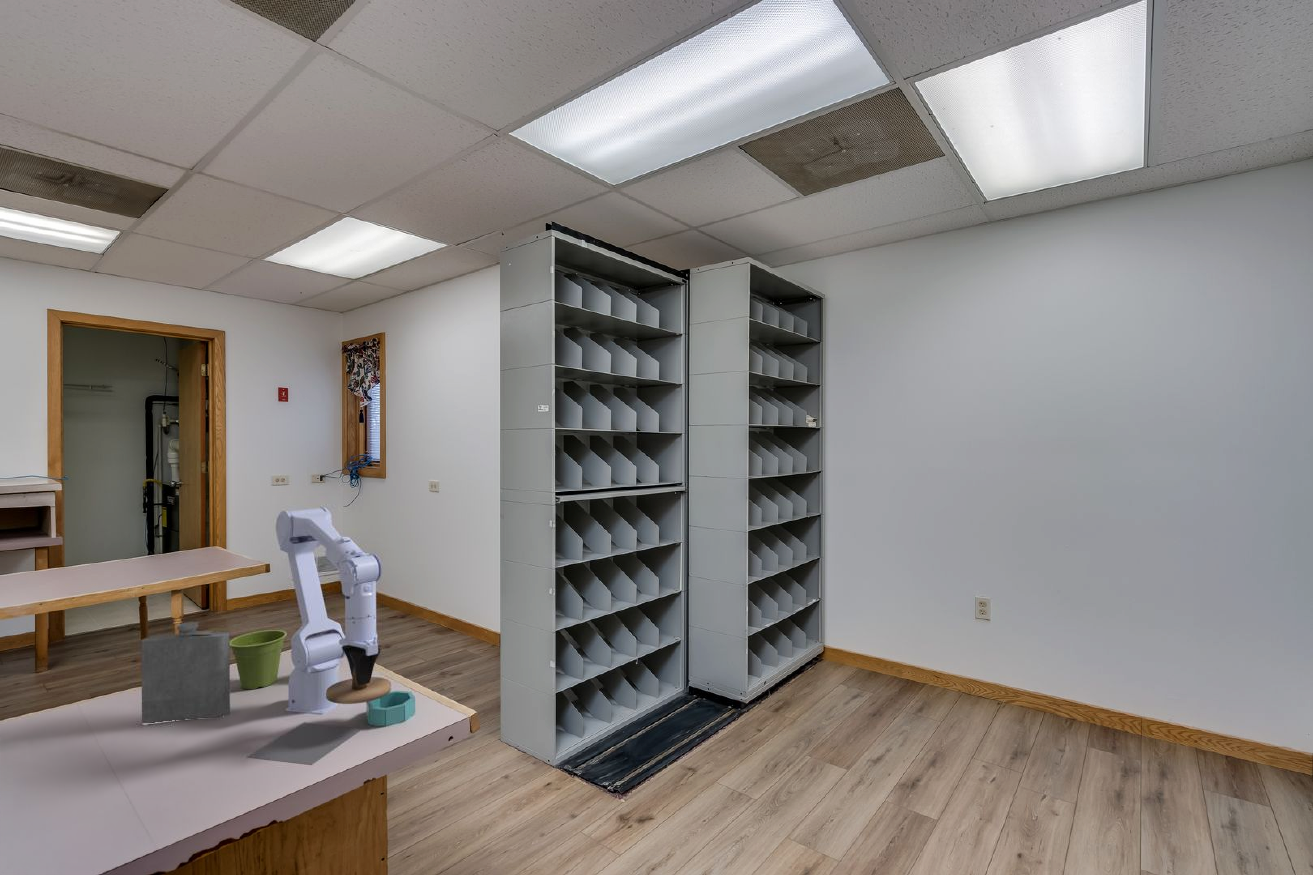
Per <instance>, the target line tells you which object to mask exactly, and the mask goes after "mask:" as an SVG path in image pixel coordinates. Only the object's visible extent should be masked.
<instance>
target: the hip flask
mask: <svg viewBox="0 0 1313 875" xmlns="http://www.w3.org/2000/svg"><path fill="white" fill-rule="evenodd" d="M198 627H199V621H189V622H183V623H179V624H177V626H176V630H177V631H178V633H177V634H168V635H167V634H166V635H159V636H150V637H146V638H143V639H141V641H140V644H141V645H140V647H141V648H140V649H141V651H140V652H141V654H140V655H141V724H142V723H155V722H163V721H172V720H175V722H177V721H176V720H184V721H186V720H185V719H194V720H199V719H198V718H212V719H221V718H220V717H222V718H224V717H223V716H225V717H227V716H229V715H230V714H231V685H230V684H231V678H230V676H231V674H230V673H231V671H230V670H231V669H230V668H231V666H230V664H231V659H230V657H231V655H230V648H231V646H230V632H229V631H216V630H210V631H209V630H206V631H205V630H201V631H200V630H198ZM226 715H227V716H226Z"/></svg>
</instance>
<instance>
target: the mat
mask: <svg viewBox="0 0 1313 875" xmlns="http://www.w3.org/2000/svg"><path fill="white" fill-rule="evenodd" d="M362 730H364V727H356V726H345V725H336V724H335V725H334V724H327V723H326V724H325V723H315V722H302V723H301V724H299V725H297V726H296V727H294V728H292V729H290V730H289V731H287V732H285V733H284V734H282V735H280V736H279V737H277V738H275V739H274V740H271V742H268V743H267V744H266V745H264V746H262V747H260V748H259V749H257V750H256V751H254V752H252V753H251V754H249V755H247V756H246V758H250V759H257V760H267V761H275V762H283V763H291V764H301V765H308V766H309V765H310V766H313V765H314V764H315V763H317V762H318V761H320V760H321V759H323V758H324V757H325V756H327V755H328V754H330V753H331V752H332V751H334V750H335V749H337V748H339V747H340V746H341V745H342V744H344V743H345V742H347V741H348V740H349V739H351V738H353V737H354V736H355V735H357V734H358V733H360V732H361V731H362Z"/></svg>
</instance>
